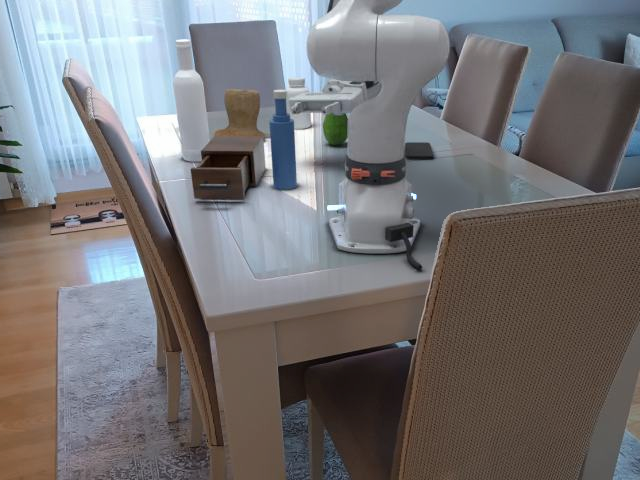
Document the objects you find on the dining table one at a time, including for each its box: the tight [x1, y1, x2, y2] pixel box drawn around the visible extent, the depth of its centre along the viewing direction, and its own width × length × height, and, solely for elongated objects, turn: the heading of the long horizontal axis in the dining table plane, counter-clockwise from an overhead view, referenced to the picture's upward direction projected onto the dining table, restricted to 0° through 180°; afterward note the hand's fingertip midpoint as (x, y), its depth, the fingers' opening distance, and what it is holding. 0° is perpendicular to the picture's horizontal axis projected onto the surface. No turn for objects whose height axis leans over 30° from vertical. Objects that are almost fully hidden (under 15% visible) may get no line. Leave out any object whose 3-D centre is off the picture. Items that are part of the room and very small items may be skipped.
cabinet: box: [201, 135, 266, 188], centre depth 160 cm, size 15×13×9 cm
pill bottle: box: [285, 76, 312, 130], centre depth 208 cm, size 8×8×15 cm
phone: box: [404, 141, 434, 160], centre depth 183 cm, size 7×1×15 cm
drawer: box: [190, 154, 252, 200], centre depth 148 cm, size 18×11×7 cm, turn 177°
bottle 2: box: [268, 89, 298, 191], centre depth 150 cm, size 6×6×22 cm
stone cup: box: [213, 88, 266, 139], centre depth 192 cm, size 15×12×15 cm
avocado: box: [322, 113, 349, 146], centre depth 188 cm, size 8×8×12 cm
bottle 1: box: [172, 38, 211, 163], centre depth 171 cm, size 8×8×30 cm
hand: (308, 111), depth 157 cm, fingers open, 8 cm apart
